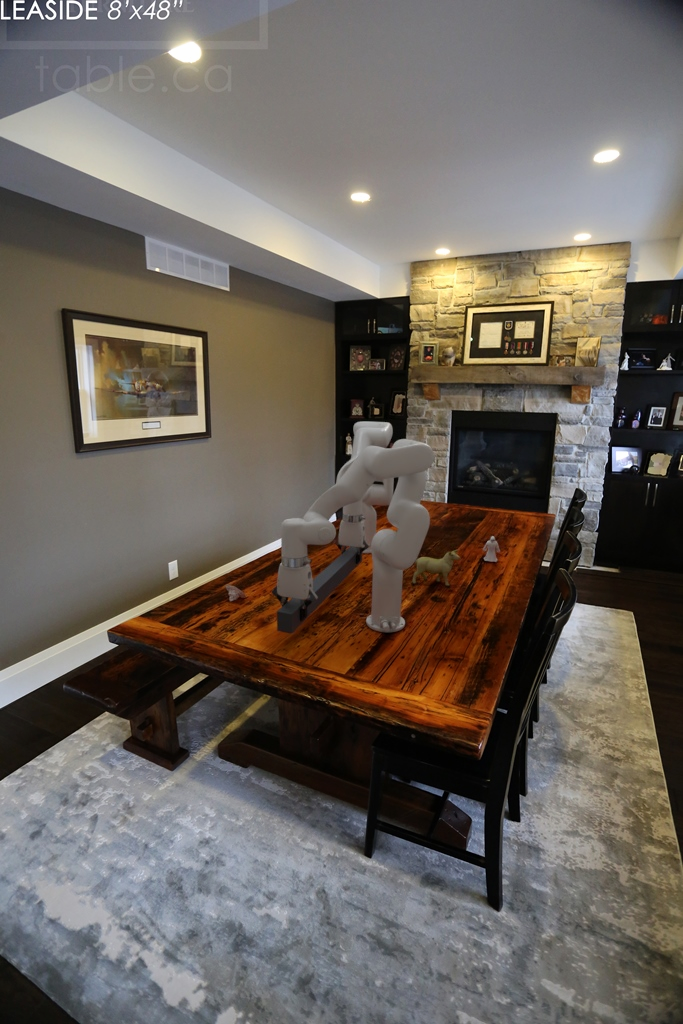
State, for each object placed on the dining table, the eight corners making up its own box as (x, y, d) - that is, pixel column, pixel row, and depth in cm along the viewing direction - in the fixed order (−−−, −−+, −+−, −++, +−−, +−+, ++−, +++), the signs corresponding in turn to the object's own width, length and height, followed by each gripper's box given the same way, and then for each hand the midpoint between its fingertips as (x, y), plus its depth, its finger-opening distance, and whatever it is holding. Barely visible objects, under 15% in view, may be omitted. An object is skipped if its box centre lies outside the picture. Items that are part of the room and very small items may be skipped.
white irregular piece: (231, 609, 179) (216, 592, 179) (241, 599, 183) (227, 583, 182) (239, 604, 173) (224, 587, 172) (250, 595, 177) (235, 577, 176)
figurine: (481, 562, 222) (483, 536, 219) (482, 556, 230) (484, 531, 227) (499, 564, 220) (501, 538, 217) (499, 558, 228) (501, 533, 225)
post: (292, 633, 144) (292, 614, 142) (277, 630, 145) (276, 611, 144) (362, 561, 206) (362, 547, 205) (350, 559, 208) (351, 545, 206)
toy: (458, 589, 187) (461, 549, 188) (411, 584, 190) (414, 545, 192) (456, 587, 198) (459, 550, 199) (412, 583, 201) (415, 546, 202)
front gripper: (326, 560, 147) (325, 617, 151) (274, 553, 152) (275, 608, 157) (316, 568, 140) (316, 627, 145) (262, 560, 146) (263, 618, 150)
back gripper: (375, 517, 196) (374, 561, 201) (335, 513, 202) (334, 556, 206) (370, 522, 189) (368, 567, 194) (328, 518, 195) (327, 562, 199)
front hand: (294, 617), depth 151 cm, fingers closed on post, 4 cm apart
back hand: (351, 561), depth 200 cm, fingers closed on post, 4 cm apart
